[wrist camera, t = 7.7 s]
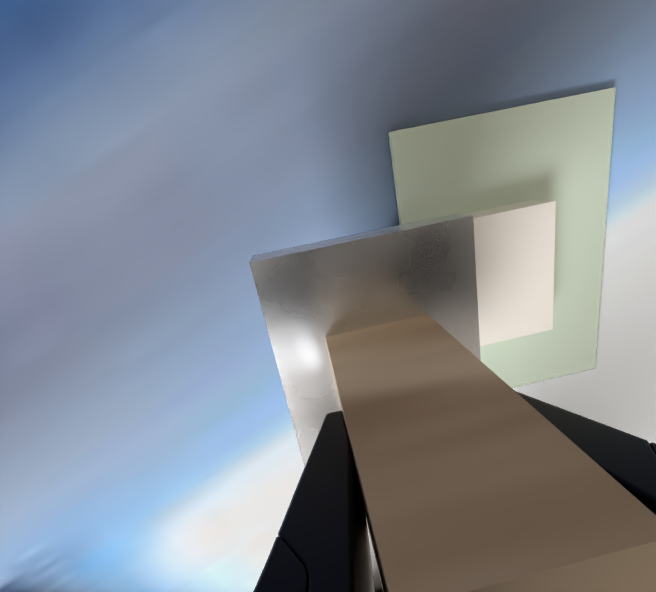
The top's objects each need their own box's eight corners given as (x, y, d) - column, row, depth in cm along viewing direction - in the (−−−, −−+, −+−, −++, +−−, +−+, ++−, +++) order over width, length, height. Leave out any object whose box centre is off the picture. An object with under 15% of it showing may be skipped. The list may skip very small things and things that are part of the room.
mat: (590, 365, 19) (595, 368, 19) (421, 405, 19) (423, 409, 18) (609, 89, 15) (615, 86, 14) (388, 132, 14) (390, 131, 14)
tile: (400, 348, 17) (531, 317, 17) (410, 362, 16) (552, 329, 16) (384, 231, 15) (531, 199, 15) (394, 235, 14) (555, 200, 14)
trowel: (470, 432, 12) (718, 762, 5) (310, 471, 12) (342, 877, 5) (455, 213, 10) (895, 269, 3) (253, 255, 10) (149, 442, 2)
